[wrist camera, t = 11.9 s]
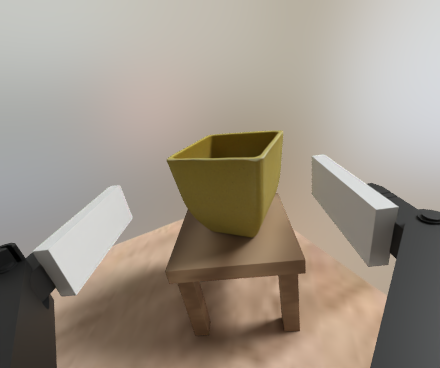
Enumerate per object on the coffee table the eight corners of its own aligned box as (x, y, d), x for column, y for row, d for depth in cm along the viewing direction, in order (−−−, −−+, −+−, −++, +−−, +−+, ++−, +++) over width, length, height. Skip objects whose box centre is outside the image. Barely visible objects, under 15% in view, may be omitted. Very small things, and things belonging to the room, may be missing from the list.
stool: (190, 340, 23) (165, 271, 19) (204, 258, 34) (189, 203, 30) (306, 335, 22) (305, 259, 18) (281, 251, 33) (277, 193, 29)
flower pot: (288, 204, 26) (284, 128, 22) (271, 256, 19) (262, 157, 15) (221, 200, 30) (208, 134, 26) (186, 241, 23) (163, 159, 19)
